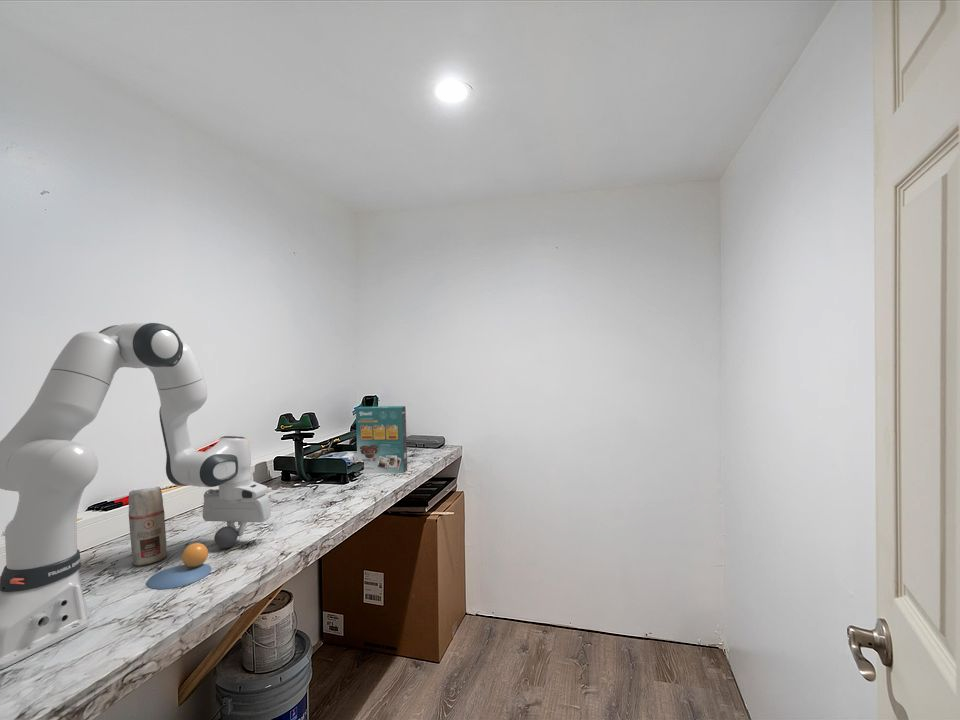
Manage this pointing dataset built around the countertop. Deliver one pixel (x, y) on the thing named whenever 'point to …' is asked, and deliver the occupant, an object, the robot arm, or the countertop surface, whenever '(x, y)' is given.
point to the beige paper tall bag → (147, 526)
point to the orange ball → (195, 555)
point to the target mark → (178, 576)
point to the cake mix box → (382, 439)
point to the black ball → (225, 537)
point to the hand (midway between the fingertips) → (237, 535)
